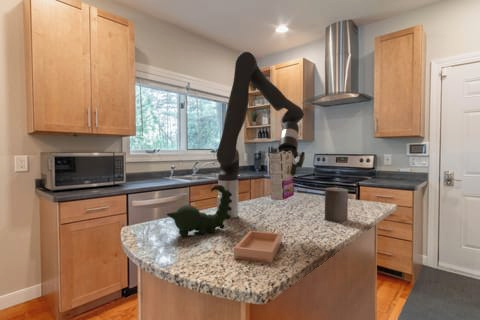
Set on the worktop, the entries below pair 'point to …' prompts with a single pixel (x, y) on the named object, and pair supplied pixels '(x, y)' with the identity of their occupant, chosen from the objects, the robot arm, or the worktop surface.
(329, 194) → the pillar candle
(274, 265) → the worktop surface
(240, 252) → the terracotta tray
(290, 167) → the candy bar box
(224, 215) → the toy figurine
